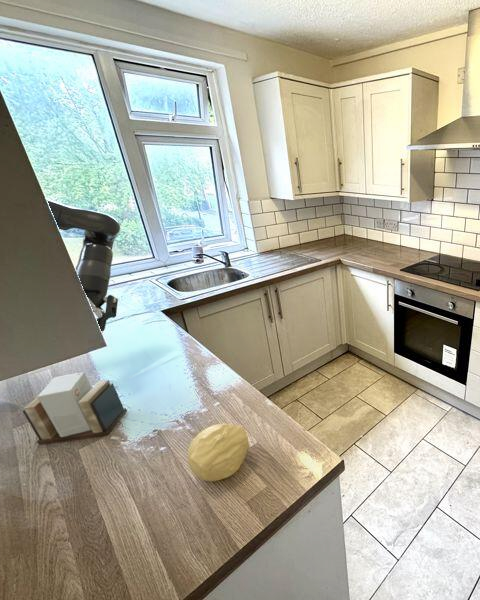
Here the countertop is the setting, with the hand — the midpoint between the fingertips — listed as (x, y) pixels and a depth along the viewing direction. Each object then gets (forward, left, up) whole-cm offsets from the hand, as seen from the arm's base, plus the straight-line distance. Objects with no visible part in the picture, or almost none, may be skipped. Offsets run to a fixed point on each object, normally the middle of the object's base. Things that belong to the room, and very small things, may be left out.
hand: (79, 334), depth 87 cm
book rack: (+1, -11, -22) cm, 24 cm away
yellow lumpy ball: (+40, -31, -22) cm, 55 cm away
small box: (0, -11, -21) cm, 24 cm away
